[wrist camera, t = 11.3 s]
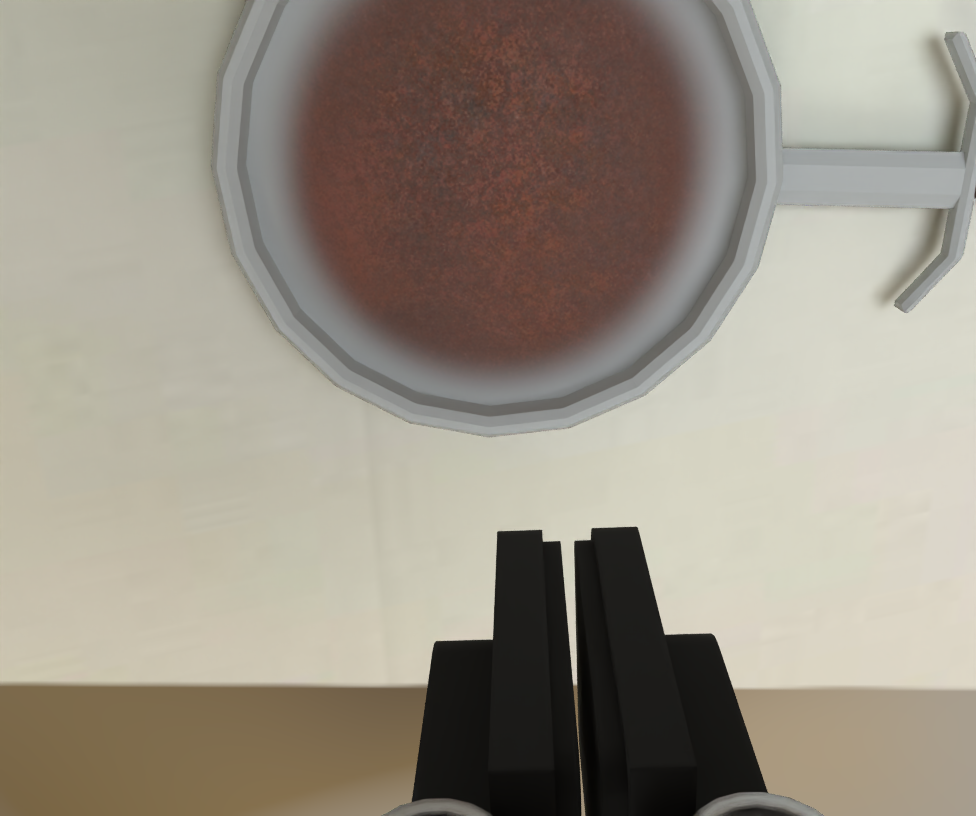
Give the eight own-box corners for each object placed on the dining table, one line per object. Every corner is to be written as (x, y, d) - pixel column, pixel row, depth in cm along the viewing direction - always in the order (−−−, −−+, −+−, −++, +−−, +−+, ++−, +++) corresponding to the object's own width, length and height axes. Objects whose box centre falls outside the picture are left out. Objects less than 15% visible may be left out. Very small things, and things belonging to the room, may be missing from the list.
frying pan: (1096, 462, 30) (223, 442, 30) (1046, 428, 33) (246, 410, 33) (1263, -148, 24) (170, -172, 24) (1185, -127, 27) (204, -148, 27)
